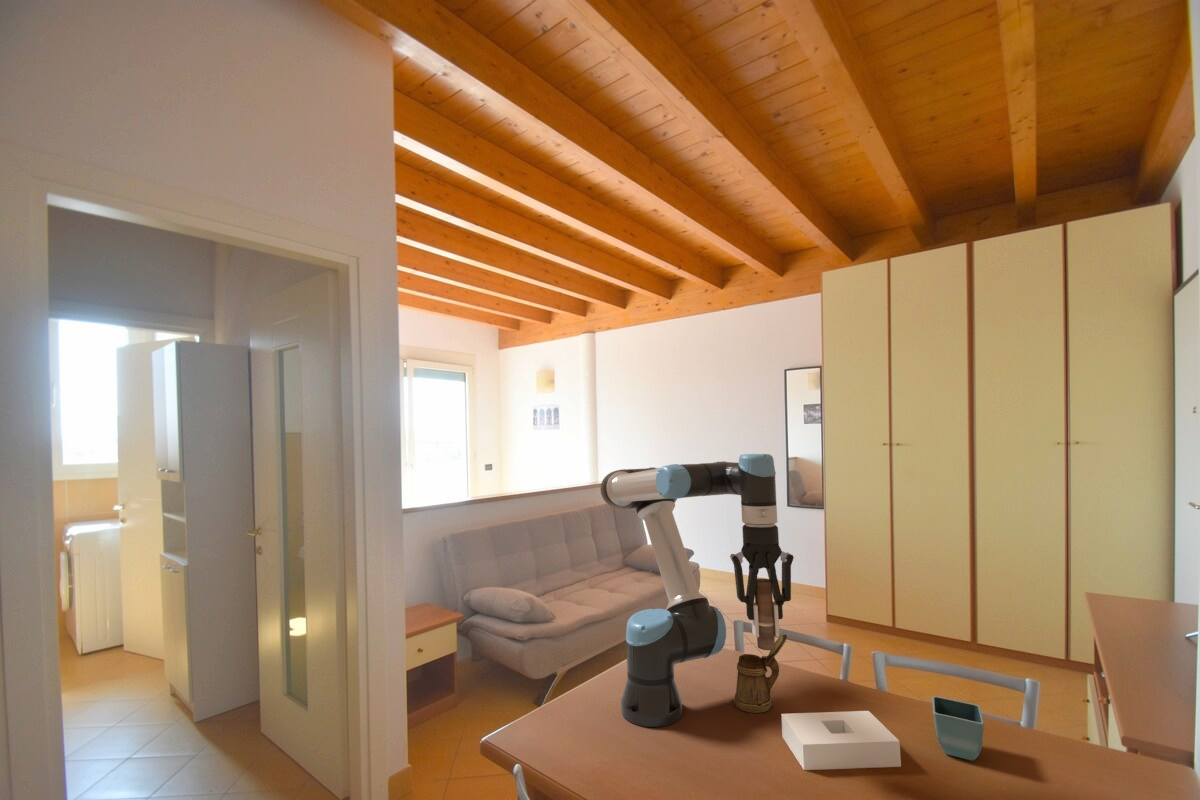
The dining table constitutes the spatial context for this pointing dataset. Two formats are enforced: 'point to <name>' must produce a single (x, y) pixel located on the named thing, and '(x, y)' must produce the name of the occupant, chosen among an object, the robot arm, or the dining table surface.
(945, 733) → the flower pot
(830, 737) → the socket block
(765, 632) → the walnut peg
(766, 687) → the wooden mug
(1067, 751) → the dining table surface
